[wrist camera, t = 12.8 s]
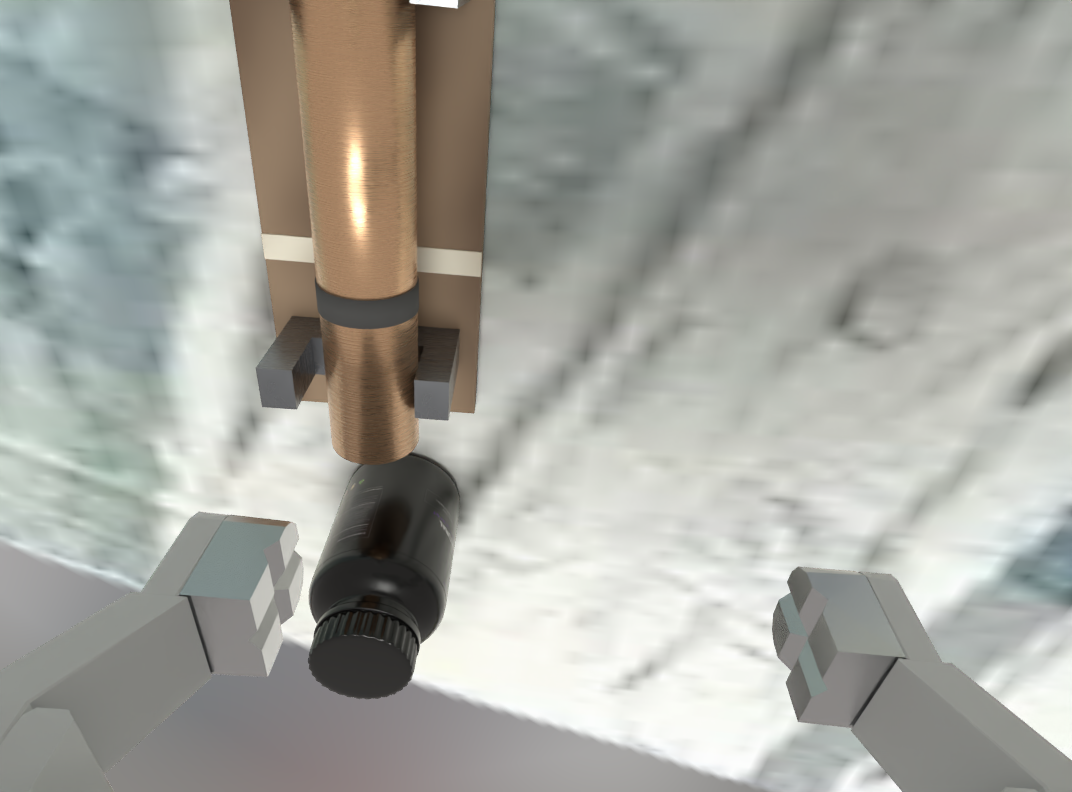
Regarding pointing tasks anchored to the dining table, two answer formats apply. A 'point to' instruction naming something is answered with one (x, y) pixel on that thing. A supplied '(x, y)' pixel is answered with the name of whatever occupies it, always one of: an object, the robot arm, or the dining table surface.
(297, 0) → the copper tube
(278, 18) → the cradle board
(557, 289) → the dining table surface
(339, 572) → the supplement bottle
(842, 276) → the dining table surface
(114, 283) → the dining table surface
